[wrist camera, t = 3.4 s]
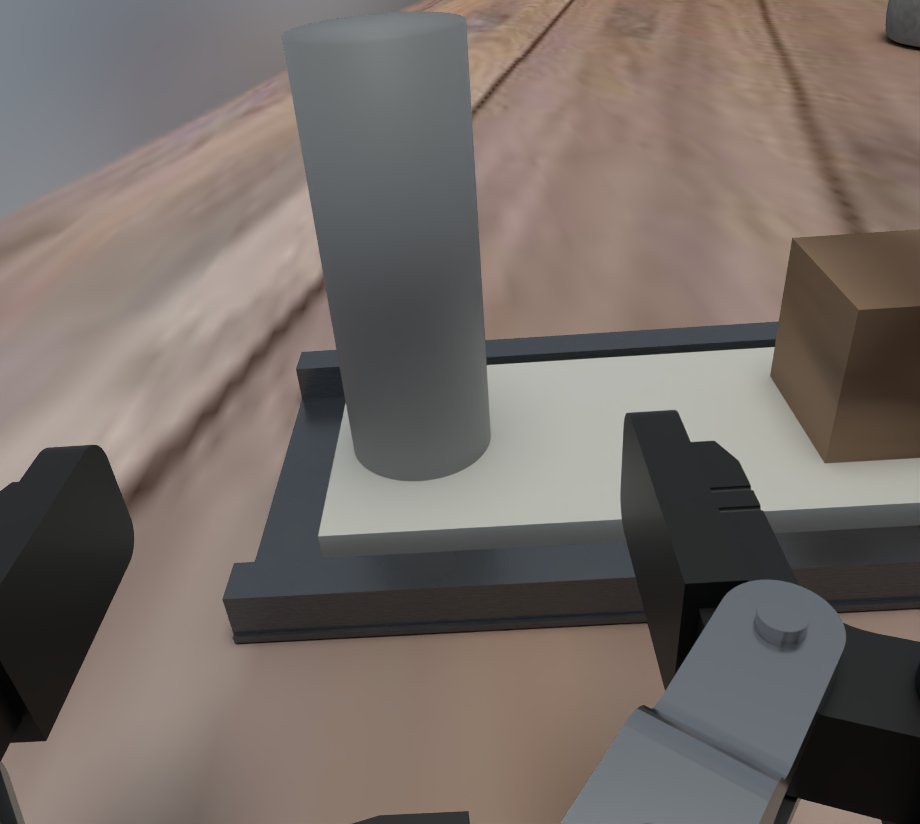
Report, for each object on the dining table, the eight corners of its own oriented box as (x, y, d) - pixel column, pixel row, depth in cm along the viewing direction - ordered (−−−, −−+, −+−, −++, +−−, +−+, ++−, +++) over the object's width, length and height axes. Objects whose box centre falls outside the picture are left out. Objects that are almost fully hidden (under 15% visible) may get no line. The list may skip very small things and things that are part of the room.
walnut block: (917, 366, 25) (956, 227, 23) (998, 453, 21) (1055, 297, 19) (769, 375, 25) (792, 237, 23) (824, 463, 22) (858, 309, 19)
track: (1270, 324, 29) (1289, 287, 28) (1708, 566, 19) (1758, 520, 18) (308, 384, 30) (302, 350, 29) (234, 643, 20) (221, 602, 19)
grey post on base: (1015, 357, 27) (1162, -60, 20) (1199, 517, 20) (1505, -26, 14) (355, 398, 28) (291, 9, 21) (324, 565, 21) (215, 72, 15)
